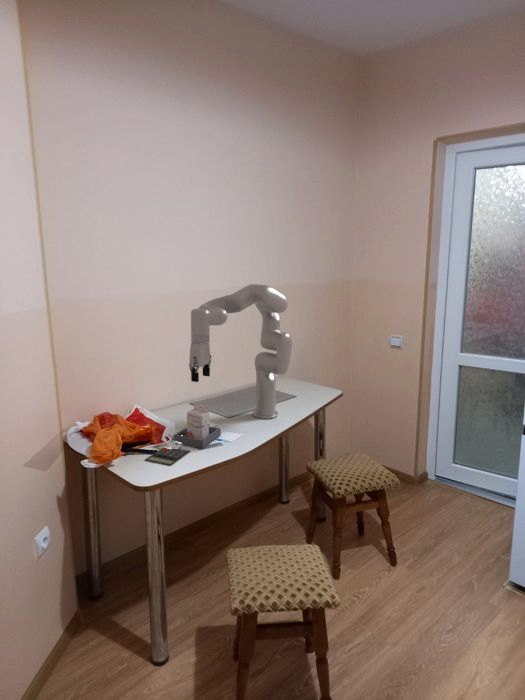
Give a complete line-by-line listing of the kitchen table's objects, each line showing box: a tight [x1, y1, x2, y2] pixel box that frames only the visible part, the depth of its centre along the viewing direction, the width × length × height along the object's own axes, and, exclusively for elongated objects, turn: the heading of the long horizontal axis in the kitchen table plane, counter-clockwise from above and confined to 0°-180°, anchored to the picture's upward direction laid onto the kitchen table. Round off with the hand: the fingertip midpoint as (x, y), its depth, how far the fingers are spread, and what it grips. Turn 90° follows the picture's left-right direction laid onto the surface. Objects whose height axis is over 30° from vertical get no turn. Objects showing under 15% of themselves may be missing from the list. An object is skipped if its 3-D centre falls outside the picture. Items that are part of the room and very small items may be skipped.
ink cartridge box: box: [186, 402, 210, 440], centre depth 215 cm, size 9×5×15 cm, turn 60°
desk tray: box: [172, 425, 222, 450], centre depth 216 cm, size 16×14×4 cm
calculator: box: [144, 447, 191, 467], centre depth 199 cm, size 12×1×15 cm
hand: (200, 378), depth 213 cm, fingers open, 9 cm apart
